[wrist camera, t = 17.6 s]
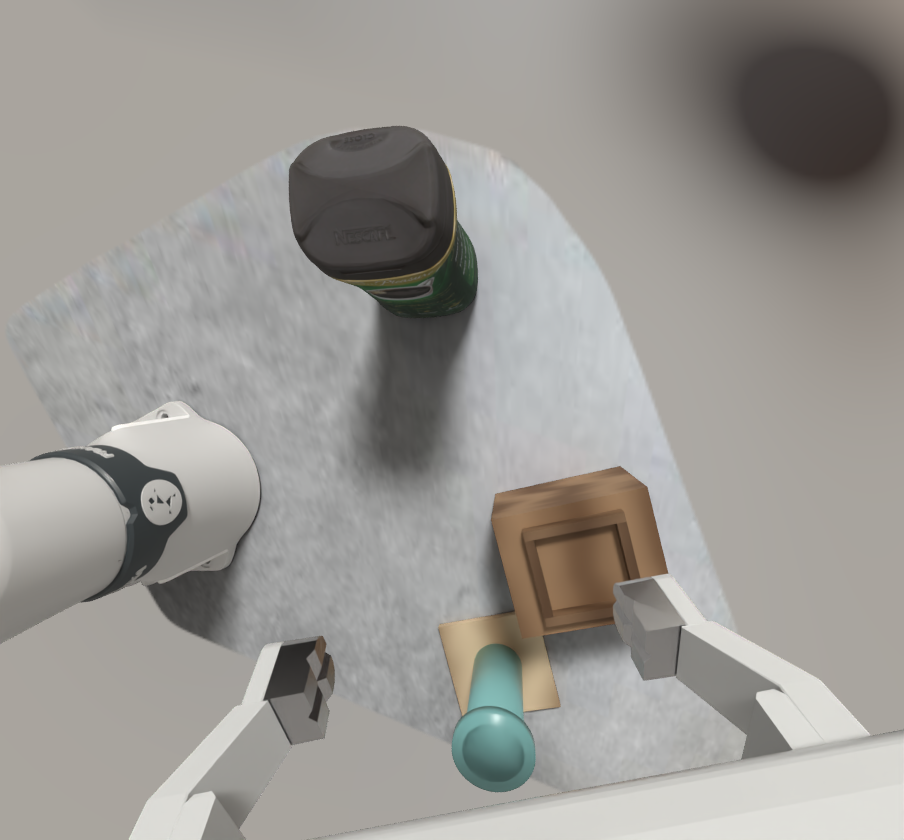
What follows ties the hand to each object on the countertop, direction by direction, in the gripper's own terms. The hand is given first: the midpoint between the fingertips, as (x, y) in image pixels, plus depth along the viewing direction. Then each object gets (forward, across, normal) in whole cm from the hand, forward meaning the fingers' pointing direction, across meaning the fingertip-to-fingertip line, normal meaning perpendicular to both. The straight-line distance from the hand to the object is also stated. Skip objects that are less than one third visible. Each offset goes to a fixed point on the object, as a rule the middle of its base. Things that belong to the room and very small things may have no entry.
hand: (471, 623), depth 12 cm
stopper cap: (+20, -1, +30) cm, 36 cm away
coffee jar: (+34, -1, -6) cm, 35 cm away
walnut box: (+23, -10, +18) cm, 31 cm away
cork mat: (+20, -2, +30) cm, 37 cm away
